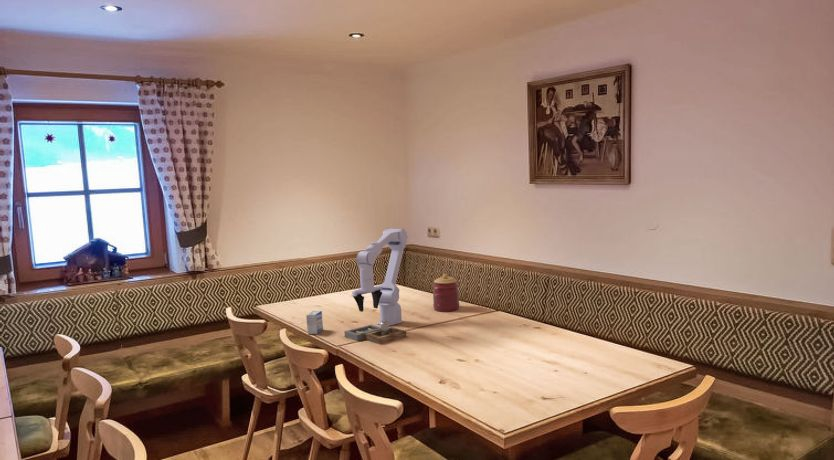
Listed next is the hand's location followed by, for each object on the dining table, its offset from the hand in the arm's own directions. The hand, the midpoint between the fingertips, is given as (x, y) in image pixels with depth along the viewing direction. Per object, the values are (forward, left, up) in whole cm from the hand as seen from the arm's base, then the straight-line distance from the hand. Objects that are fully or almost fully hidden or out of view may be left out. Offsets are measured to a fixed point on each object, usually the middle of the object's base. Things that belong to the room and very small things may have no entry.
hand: (368, 309), depth 260 cm
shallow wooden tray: (+1, +13, -10) cm, 16 cm away
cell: (+1, +13, -9) cm, 16 cm away
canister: (-50, -5, -10) cm, 51 cm away
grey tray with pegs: (+5, +3, -10) cm, 11 cm away
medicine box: (+16, -19, -10) cm, 27 cm away
